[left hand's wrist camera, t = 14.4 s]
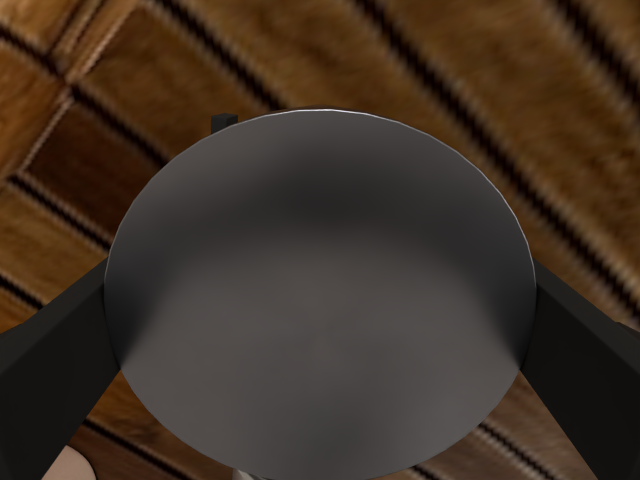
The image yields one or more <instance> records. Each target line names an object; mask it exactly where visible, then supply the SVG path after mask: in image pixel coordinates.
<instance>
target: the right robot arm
mask: <svg viewBox="0 0 640 480" xmlns="http://www.w3.org/2000/svg"><path fill="white" fill-rule="evenodd" d="M237 121H238V115H233V114H226V113H223V114H219V115H214V116H212V119H211V134H213V133H215V132H217V131H220V130H222V129H224V128H226V127H228V126H230V125H232V124H235V123H237ZM232 480H274V479H268V478H264V477H260V476H256V475H253V474H249V473H245V472H242V471H240V470H237V469H234V468H233V477H232Z"/></svg>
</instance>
